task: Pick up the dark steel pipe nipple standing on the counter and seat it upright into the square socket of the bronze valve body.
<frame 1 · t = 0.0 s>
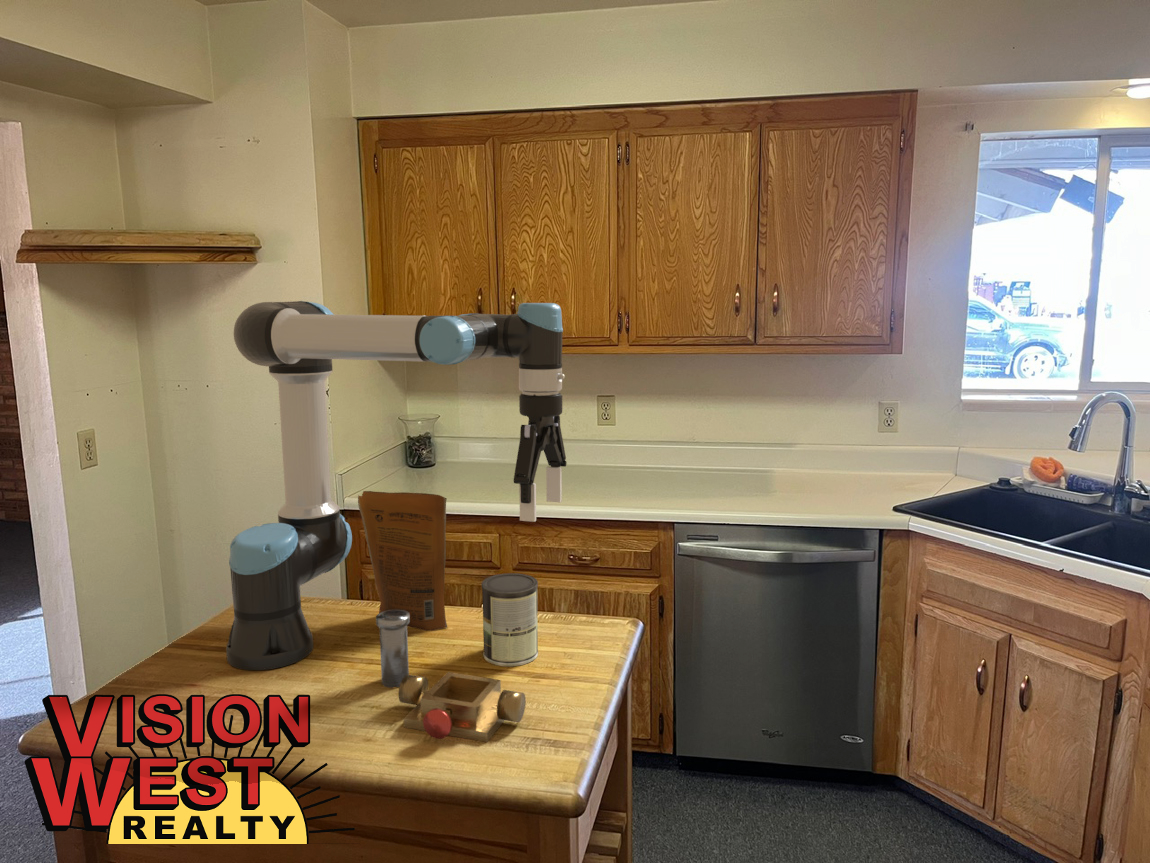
hand: (541, 510, 145), 28 cm above the worktop, fingers open, 13 cm apart
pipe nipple: (395, 681, 141), on the worktop
pancake mix bag: (409, 624, 165), on the worktop
coffee can: (510, 655, 151), on the worktop
valve body: (462, 715, 129), on the worktop
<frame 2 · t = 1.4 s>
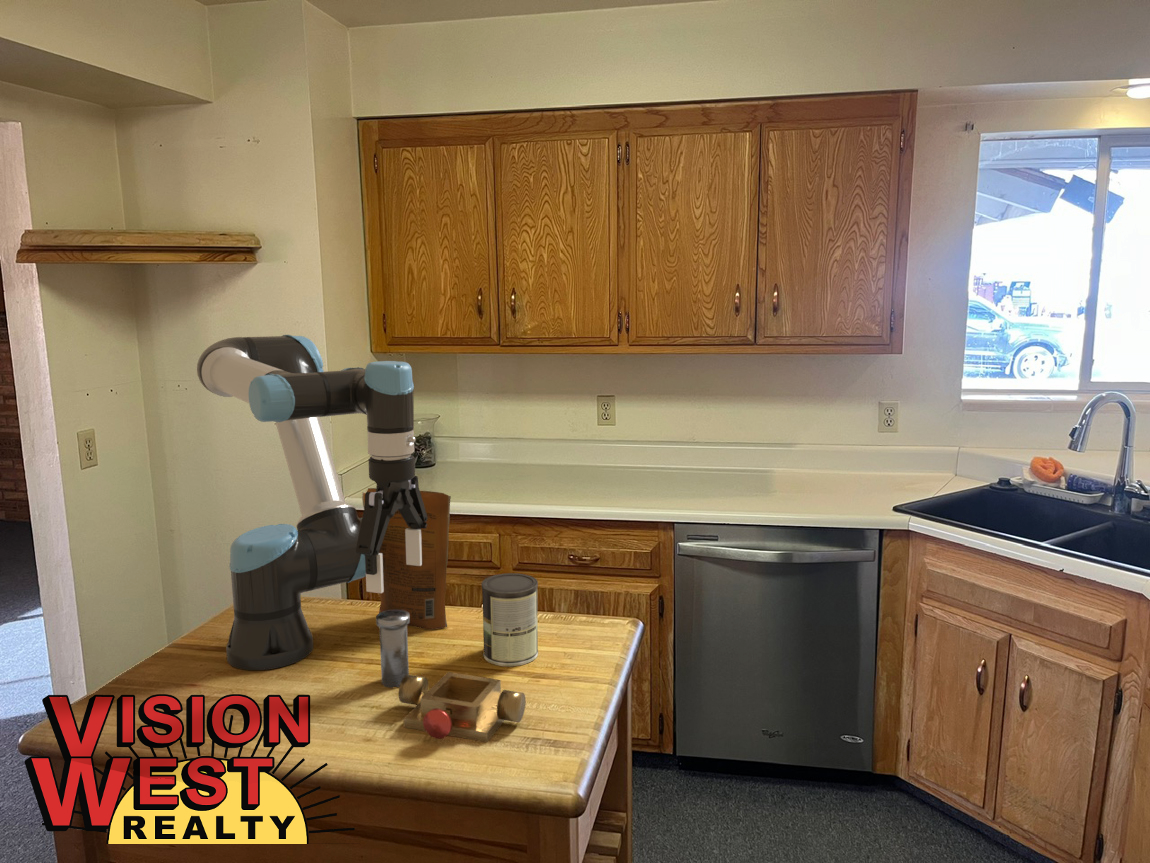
hand: (395, 577, 138), 19 cm above the worktop, fingers open, 13 cm apart
pancake mix bag: (409, 623, 165), on the worktop, touching arm
everything else where it was.
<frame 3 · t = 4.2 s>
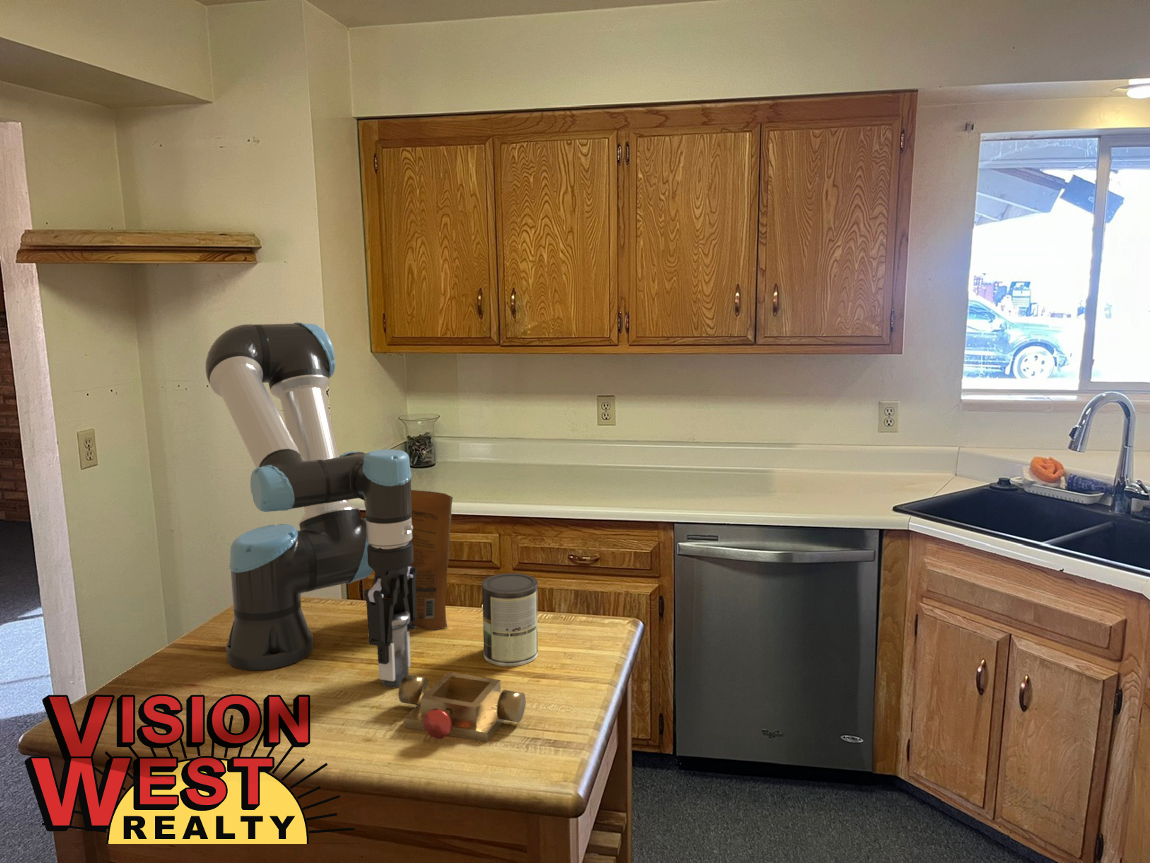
hand: (395, 672, 140), 2 cm above the worktop, fingers closed on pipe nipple, 5 cm apart
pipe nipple: (395, 681, 141), on the worktop, touching gripper
everything else where it was.
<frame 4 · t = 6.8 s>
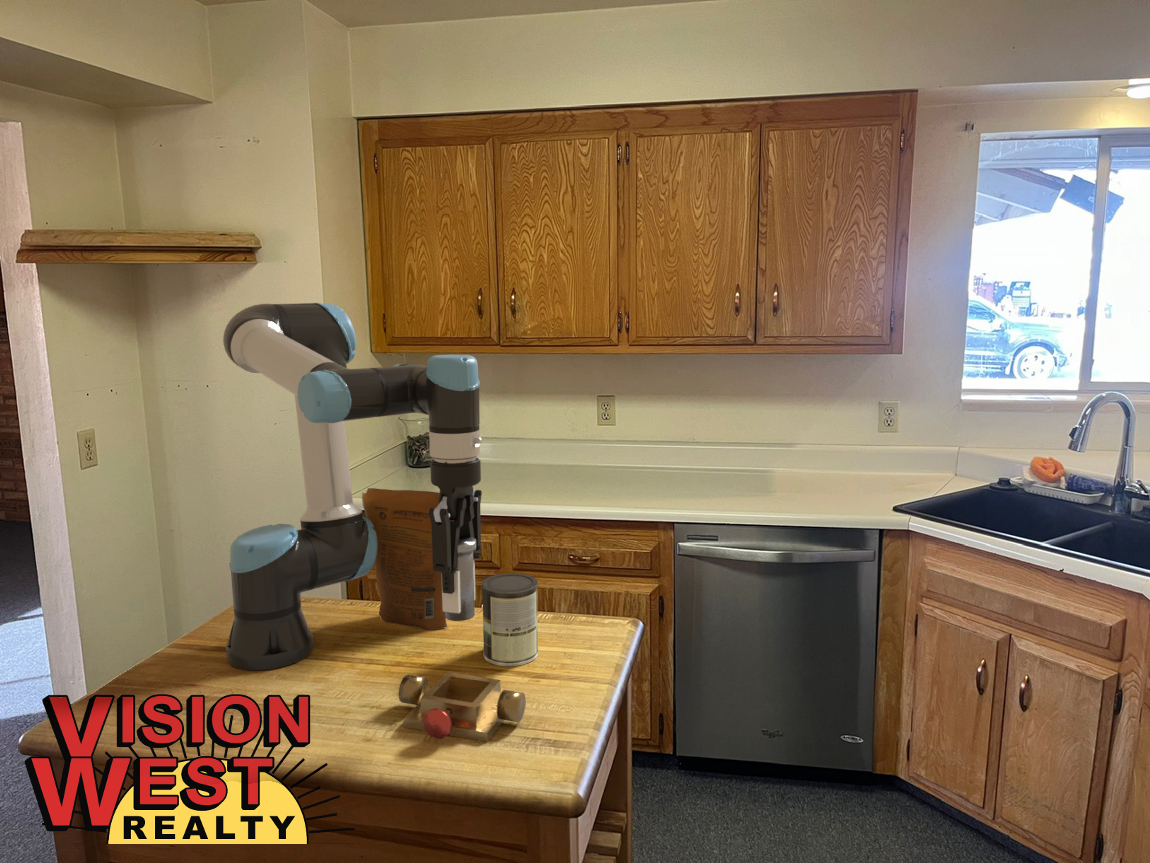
hand: (459, 605, 126), 19 cm above the worktop, fingers closed on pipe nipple, 5 cm apart
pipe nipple: (459, 615, 126), point 17 cm above the worktop, touching gripper
pancake mix bag: (409, 624, 165), on the worktop
everything else where it was.
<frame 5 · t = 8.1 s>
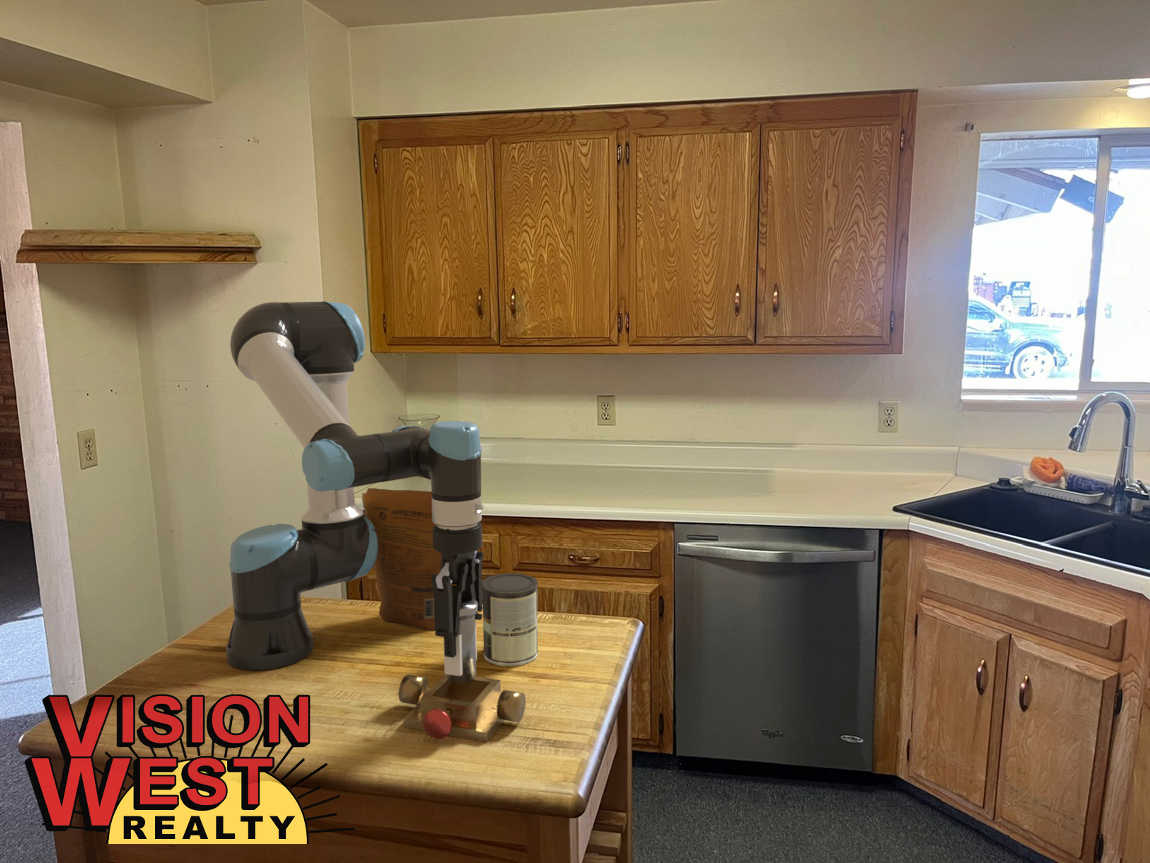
hand: (461, 666, 128), 8 cm above the worktop, fingers closed on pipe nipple, 5 cm apart
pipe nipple: (461, 676, 128), point 7 cm above the worktop, touching gripper
pancake mix bag: (409, 624, 165), on the worktop, touching arm
everything else where it was.
when the fingers open (5 cm above the worktop, at t = 9.3 s): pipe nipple drops 2 cm, resting on valve body.
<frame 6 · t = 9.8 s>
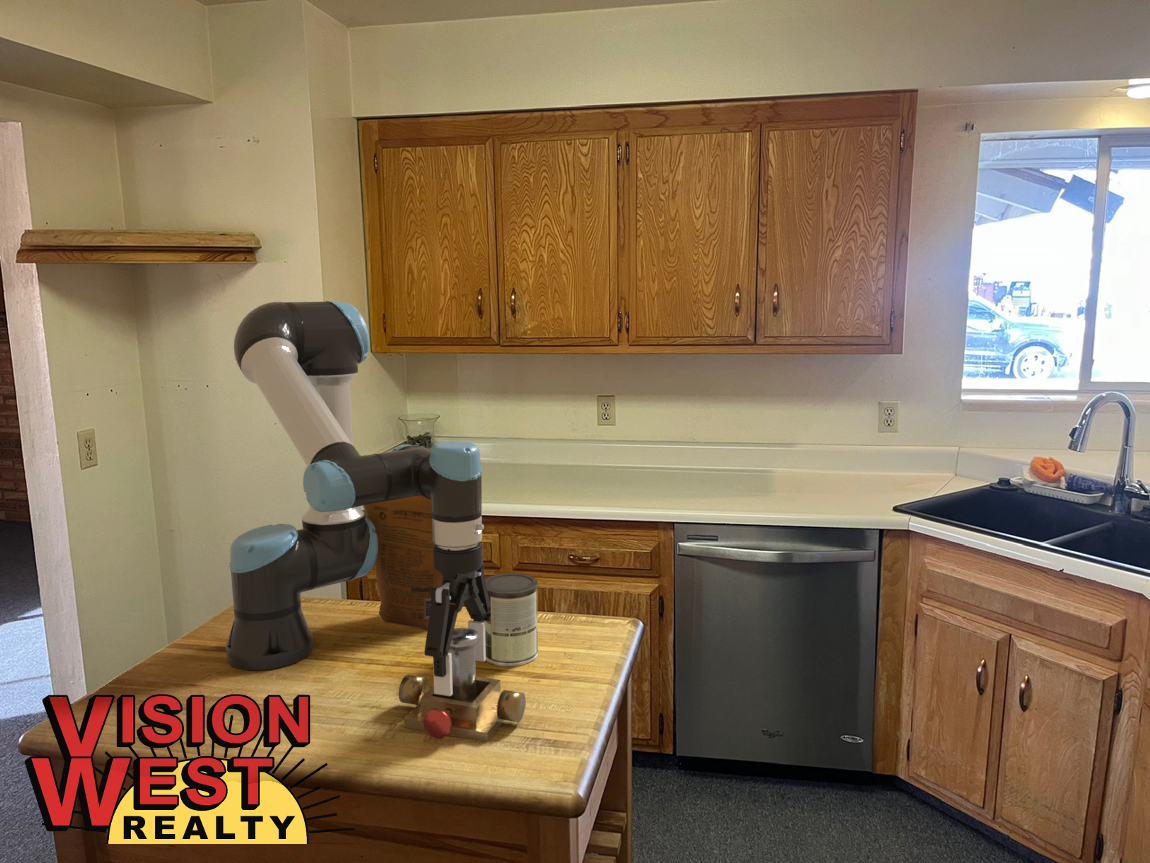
hand: (461, 676, 128), 7 cm above the worktop, fingers open, 11 cm apart
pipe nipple: (461, 706, 129), point 2 cm above the worktop, touching valve body
everything else where it was.
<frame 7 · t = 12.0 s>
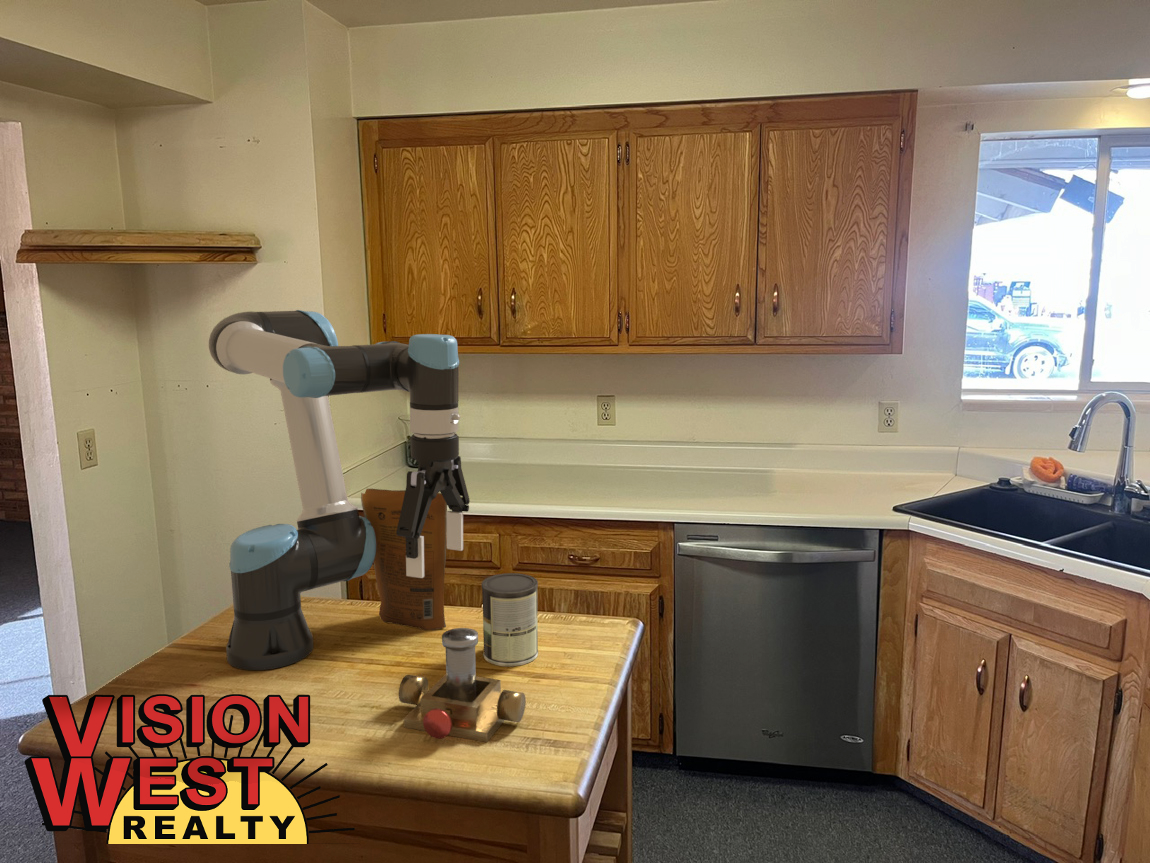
hand: (436, 562, 132), 23 cm above the worktop, fingers open, 13 cm apart
nothing on the worktop moved.
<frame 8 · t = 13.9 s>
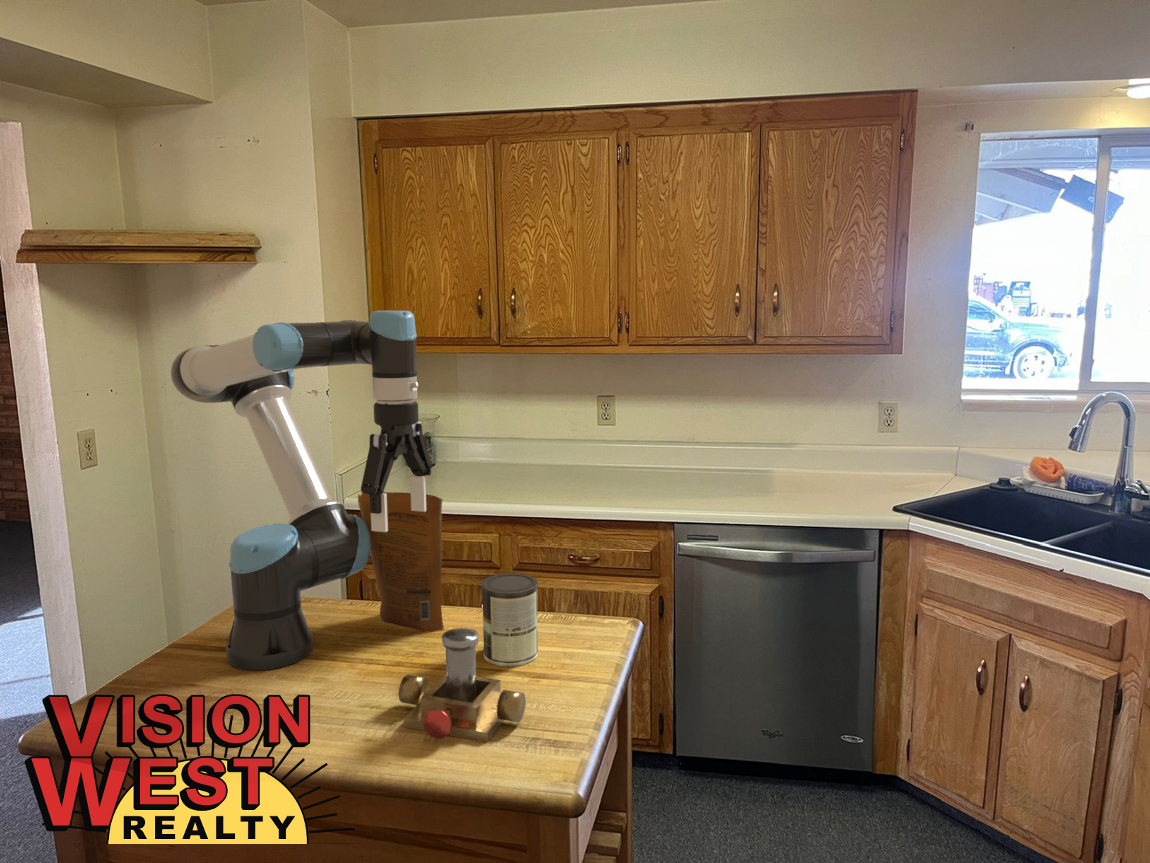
hand: (400, 520, 143), 27 cm above the worktop, fingers open, 13 cm apart
pancake mix bag: (407, 625, 165), on the worktop
everything else where it was.
at the end: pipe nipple 0.1 cm off-centre on the valve body, point 1.5 cm above the valve body's base; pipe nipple tilted 0°; the gripper is holding nothing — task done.
